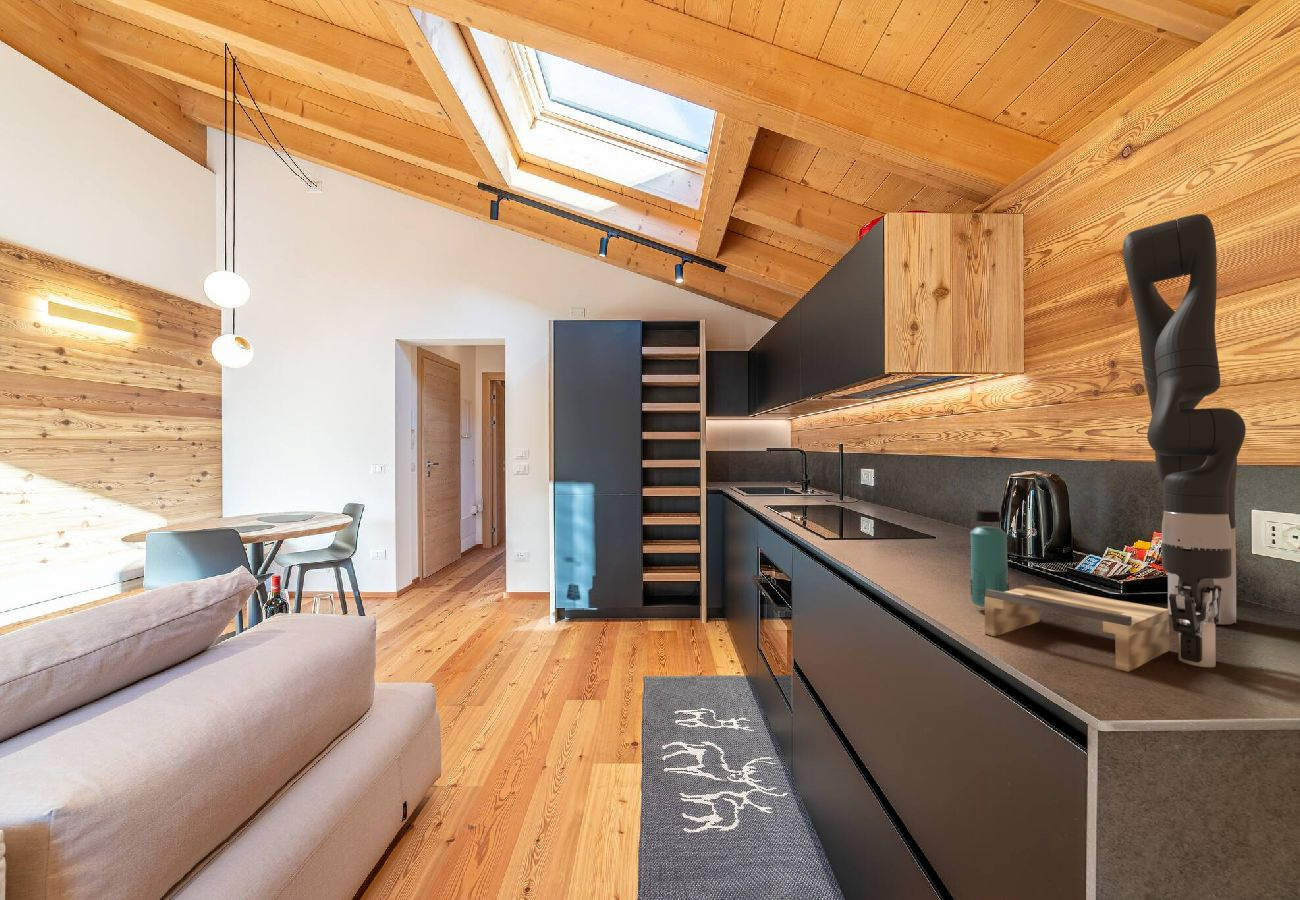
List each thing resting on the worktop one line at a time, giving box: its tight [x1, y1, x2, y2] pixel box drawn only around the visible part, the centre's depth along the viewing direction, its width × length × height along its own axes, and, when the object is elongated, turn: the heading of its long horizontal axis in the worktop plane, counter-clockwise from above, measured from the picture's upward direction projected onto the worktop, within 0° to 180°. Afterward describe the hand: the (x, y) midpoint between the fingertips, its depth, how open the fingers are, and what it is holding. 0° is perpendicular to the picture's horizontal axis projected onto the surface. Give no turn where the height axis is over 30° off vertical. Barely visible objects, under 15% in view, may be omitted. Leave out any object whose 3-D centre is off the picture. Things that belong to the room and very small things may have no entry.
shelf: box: [984, 584, 1170, 673], centre depth 95 cm, size 16×20×8 cm
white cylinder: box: [1177, 620, 1217, 668], centre depth 85 cm, size 4×4×6 cm
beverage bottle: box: [969, 509, 1010, 608], centre depth 113 cm, size 6×7×20 cm
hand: (1196, 656), depth 85 cm, fingers closed on white cylinder, 4 cm apart
